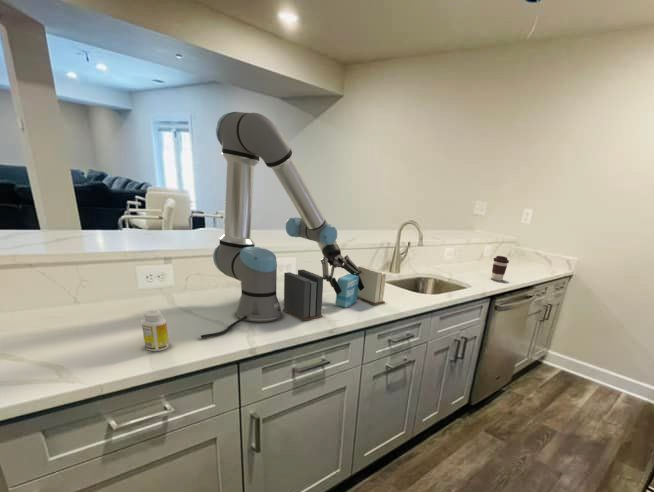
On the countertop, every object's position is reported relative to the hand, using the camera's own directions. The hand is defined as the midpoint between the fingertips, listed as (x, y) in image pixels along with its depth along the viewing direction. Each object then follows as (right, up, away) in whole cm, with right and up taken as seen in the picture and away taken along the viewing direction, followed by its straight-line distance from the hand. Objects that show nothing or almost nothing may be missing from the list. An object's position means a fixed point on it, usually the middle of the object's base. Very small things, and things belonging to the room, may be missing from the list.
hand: (351, 291), depth 160 cm
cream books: (+6, -2, +13) cm, 15 cm away
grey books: (-17, -11, -14) cm, 24 cm away
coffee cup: (+85, +21, +94) cm, 128 cm away
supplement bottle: (-47, -23, -54) cm, 75 cm away
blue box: (-3, -5, +4) cm, 7 cm away
